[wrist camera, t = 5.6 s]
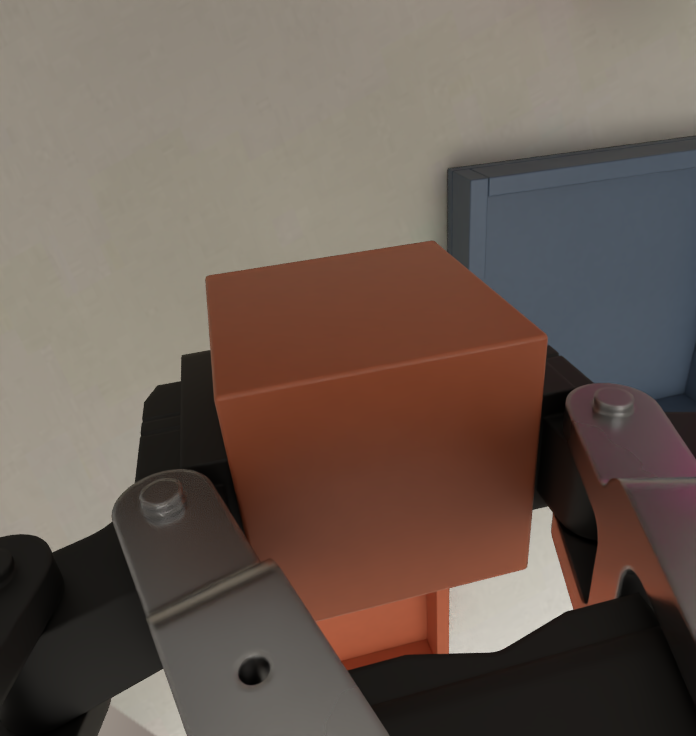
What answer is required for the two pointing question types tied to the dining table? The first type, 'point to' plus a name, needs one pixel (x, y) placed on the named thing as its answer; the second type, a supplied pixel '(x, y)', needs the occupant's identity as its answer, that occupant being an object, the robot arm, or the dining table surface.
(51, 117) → the dining table surface
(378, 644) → the terracotta tray
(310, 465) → the terracotta block
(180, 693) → the robot arm
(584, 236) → the slate tray
